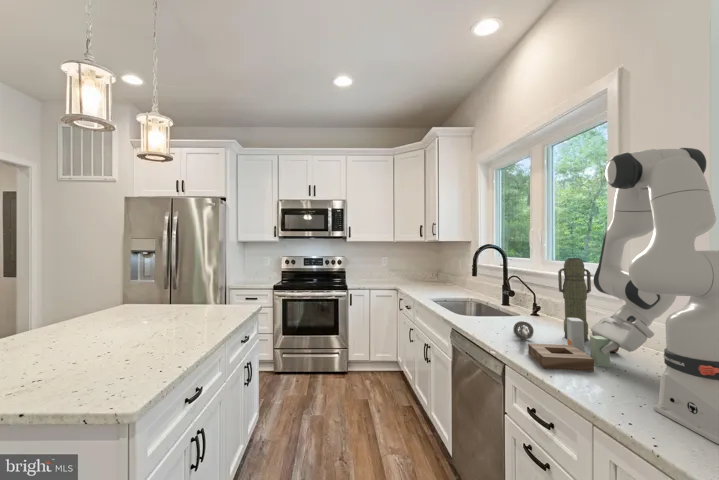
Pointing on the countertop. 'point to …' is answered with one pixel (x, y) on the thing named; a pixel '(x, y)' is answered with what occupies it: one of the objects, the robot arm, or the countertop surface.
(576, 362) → the walnut holder
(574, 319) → the skincare box
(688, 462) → the countertop surface
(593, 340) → the green block
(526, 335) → the spaceship
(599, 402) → the countertop surface
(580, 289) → the thermos
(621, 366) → the countertop surface
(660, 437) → the countertop surface
